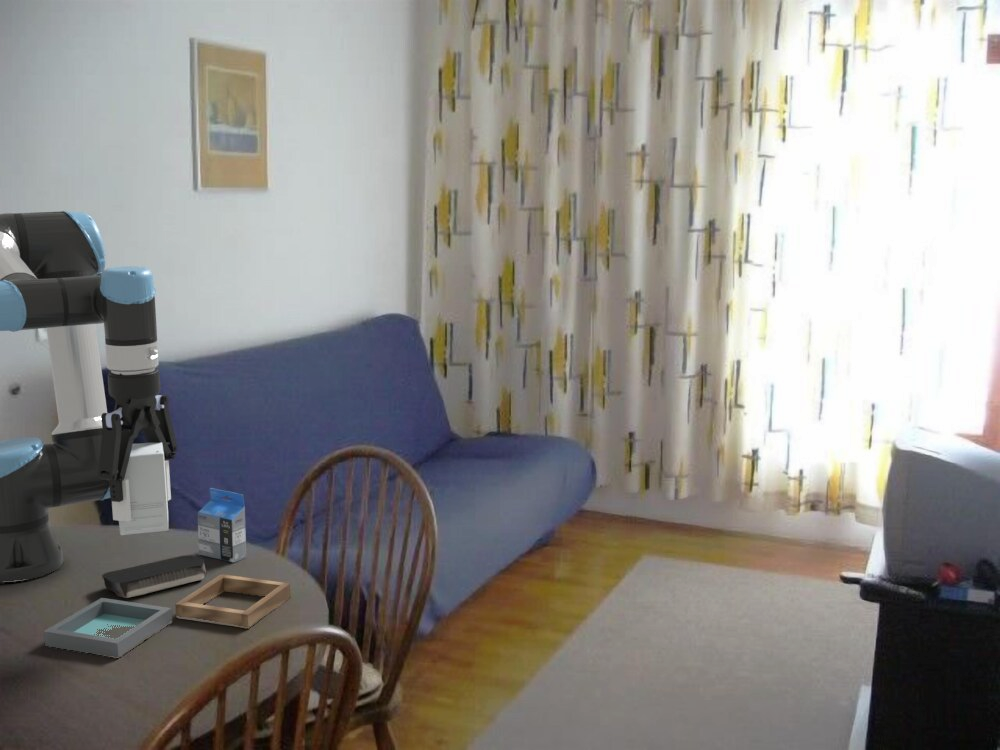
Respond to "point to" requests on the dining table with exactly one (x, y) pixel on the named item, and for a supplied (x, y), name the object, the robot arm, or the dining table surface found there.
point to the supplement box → (146, 490)
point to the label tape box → (222, 527)
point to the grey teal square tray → (97, 615)
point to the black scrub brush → (155, 576)
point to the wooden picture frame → (270, 589)
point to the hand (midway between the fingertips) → (142, 509)
